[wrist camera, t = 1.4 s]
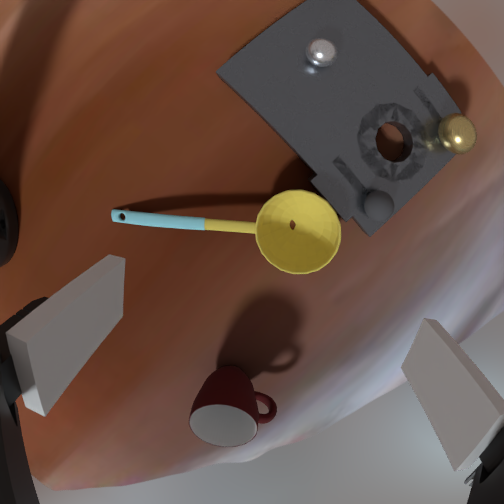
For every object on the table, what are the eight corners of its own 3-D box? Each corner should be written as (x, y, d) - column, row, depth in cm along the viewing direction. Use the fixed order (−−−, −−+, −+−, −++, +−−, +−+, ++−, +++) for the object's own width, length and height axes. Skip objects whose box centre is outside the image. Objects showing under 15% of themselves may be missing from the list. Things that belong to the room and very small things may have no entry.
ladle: (336, 265, 36) (334, 285, 31) (138, 237, 42) (112, 249, 37) (345, 189, 33) (346, 197, 28) (136, 173, 40) (108, 179, 34)
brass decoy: (424, 129, 29) (444, 126, 25) (447, 107, 28) (468, 102, 24) (446, 161, 30) (468, 163, 26) (468, 139, 29) (490, 139, 25)
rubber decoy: (354, 202, 32) (363, 206, 29) (376, 182, 32) (386, 185, 28) (372, 224, 33) (382, 231, 30) (393, 205, 32) (404, 210, 29)
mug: (282, 360, 41) (286, 412, 32) (271, 402, 43) (271, 453, 34) (204, 348, 41) (189, 397, 31) (200, 391, 43) (187, 440, 34)
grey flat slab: (212, 83, 31) (208, 78, 29) (336, -12, 27) (340, -22, 25) (357, 237, 36) (363, 242, 33) (464, 134, 31) (474, 134, 29)
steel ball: (297, 54, 28) (300, 45, 25) (318, 38, 27) (323, 27, 24) (319, 76, 29) (324, 68, 25) (340, 59, 28) (347, 50, 25)
